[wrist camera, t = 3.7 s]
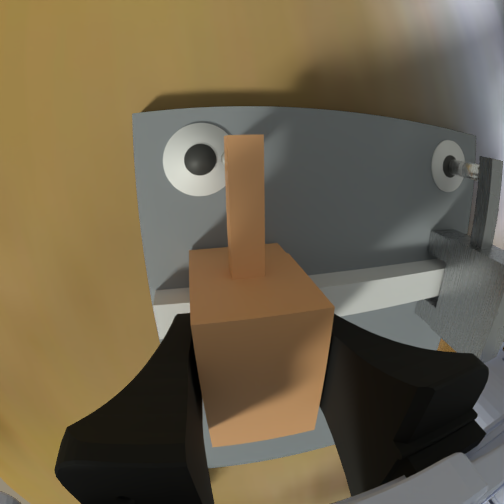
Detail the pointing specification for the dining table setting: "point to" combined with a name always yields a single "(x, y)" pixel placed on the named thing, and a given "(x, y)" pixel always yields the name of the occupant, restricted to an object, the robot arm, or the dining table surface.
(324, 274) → the board
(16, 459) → the dining table surface
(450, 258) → the fixed leg
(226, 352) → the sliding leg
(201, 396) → the robot arm
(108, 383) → the dining table surface
